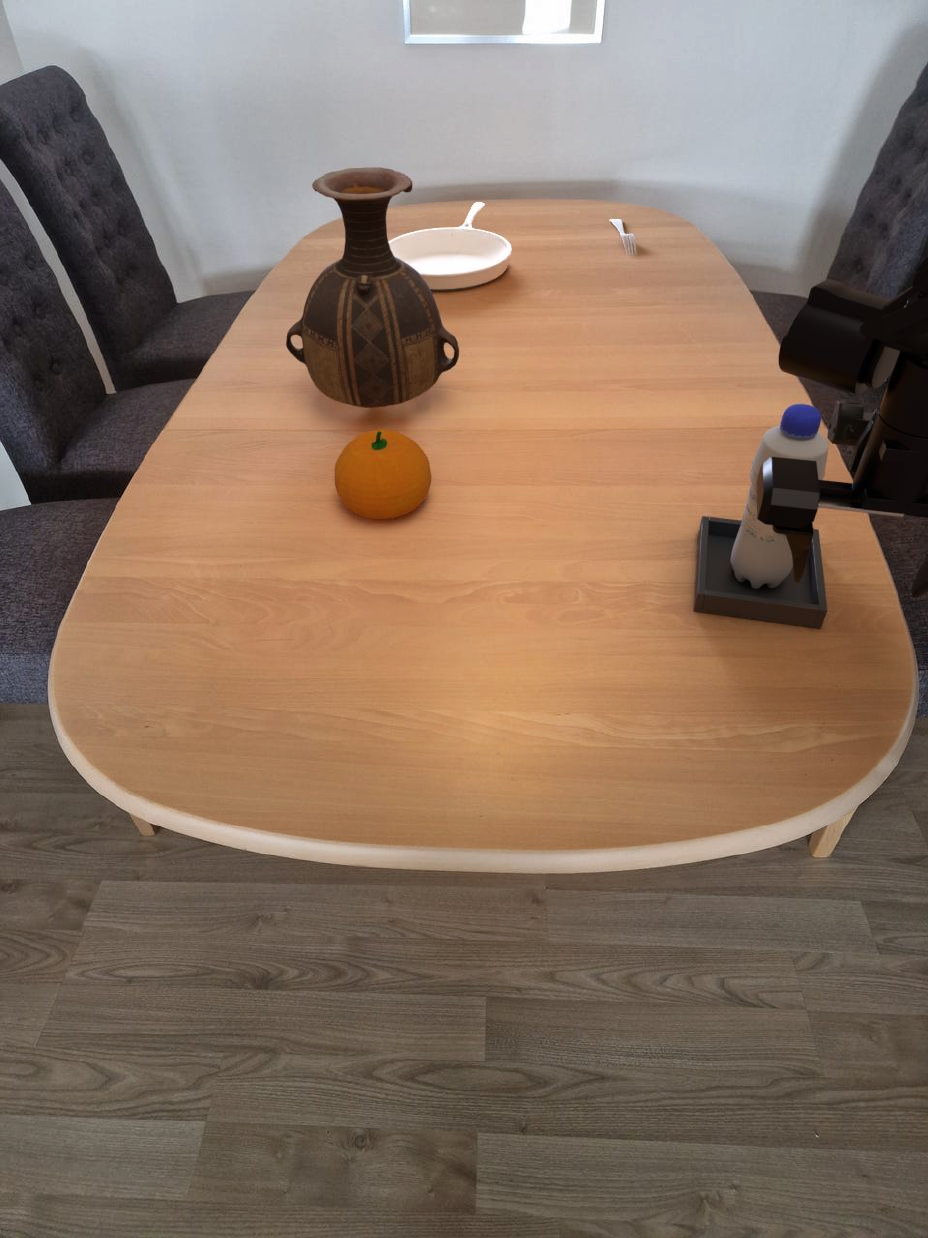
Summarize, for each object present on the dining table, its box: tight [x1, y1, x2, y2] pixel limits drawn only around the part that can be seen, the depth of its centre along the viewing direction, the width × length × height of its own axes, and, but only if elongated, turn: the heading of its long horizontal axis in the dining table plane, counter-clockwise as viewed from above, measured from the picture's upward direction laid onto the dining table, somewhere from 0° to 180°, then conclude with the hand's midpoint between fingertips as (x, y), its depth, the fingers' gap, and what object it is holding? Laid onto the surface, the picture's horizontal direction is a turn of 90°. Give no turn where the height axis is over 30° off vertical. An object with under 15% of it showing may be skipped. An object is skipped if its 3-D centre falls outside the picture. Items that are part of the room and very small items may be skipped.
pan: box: [388, 201, 513, 292], centre depth 158 cm, size 25×38×5 cm, turn 164°
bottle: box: [730, 403, 830, 589], centre depth 80 cm, size 7×7×20 cm
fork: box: [609, 218, 637, 257], centre depth 164 cm, size 3×21×3 cm, turn 1°
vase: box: [285, 166, 460, 409], centre depth 107 cm, size 23×19×30 cm
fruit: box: [333, 428, 432, 520], centre depth 97 cm, size 12×12×10 cm
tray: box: [693, 515, 828, 630], centre depth 87 cm, size 13×14×2 cm
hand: (854, 586), depth 67 cm, fingers open, 9 cm apart
